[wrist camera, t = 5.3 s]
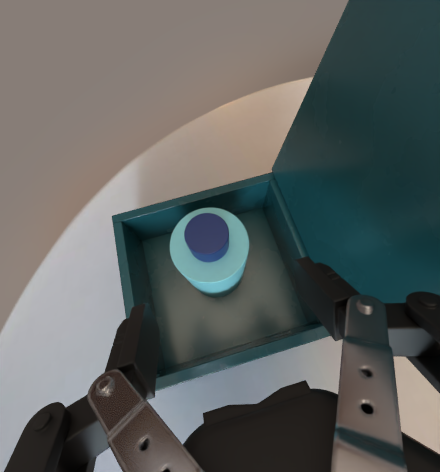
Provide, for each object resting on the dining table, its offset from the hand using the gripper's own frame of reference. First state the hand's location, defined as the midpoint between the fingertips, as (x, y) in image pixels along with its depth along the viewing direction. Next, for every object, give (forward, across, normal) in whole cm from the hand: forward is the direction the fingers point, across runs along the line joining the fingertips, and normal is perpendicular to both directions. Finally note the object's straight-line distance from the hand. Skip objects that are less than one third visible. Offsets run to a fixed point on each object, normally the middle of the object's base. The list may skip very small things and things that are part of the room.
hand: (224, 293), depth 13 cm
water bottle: (+11, 0, +6) cm, 12 cm away
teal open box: (+11, 0, +7) cm, 13 cm away
